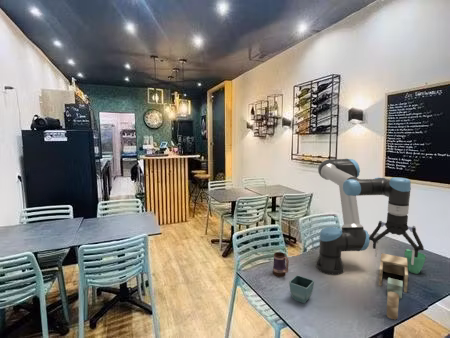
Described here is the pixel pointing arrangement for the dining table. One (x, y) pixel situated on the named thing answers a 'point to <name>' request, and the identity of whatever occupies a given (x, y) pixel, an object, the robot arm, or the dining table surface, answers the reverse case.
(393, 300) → the tethered block
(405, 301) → the dining table surface
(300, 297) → the flower pot
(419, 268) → the mug
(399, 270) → the tan wooden arch
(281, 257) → the mug
